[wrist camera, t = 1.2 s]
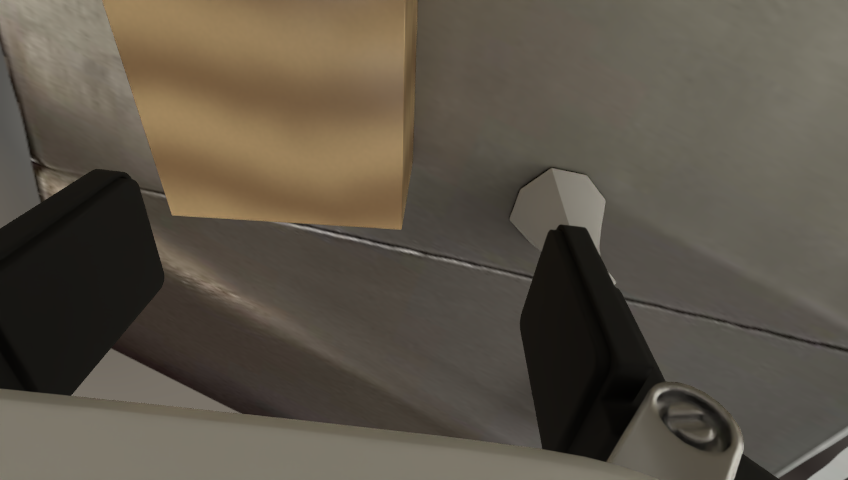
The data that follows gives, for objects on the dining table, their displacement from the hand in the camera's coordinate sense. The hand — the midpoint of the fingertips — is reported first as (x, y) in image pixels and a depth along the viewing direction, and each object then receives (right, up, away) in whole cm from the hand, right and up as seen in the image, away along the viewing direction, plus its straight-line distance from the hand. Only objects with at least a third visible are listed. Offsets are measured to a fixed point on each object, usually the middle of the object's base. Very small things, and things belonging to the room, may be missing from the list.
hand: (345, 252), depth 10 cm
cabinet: (-6, +13, +19) cm, 24 cm away
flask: (+13, +3, +26) cm, 29 cm away
